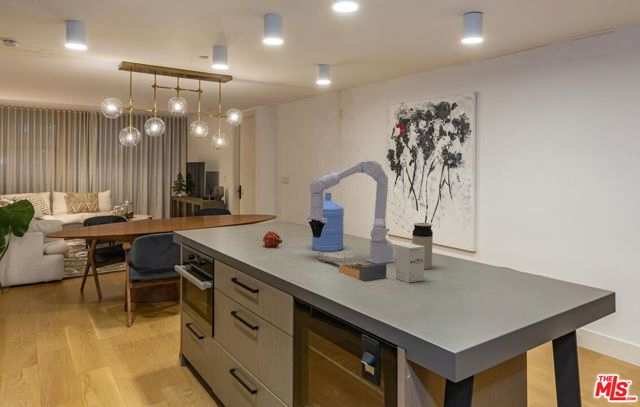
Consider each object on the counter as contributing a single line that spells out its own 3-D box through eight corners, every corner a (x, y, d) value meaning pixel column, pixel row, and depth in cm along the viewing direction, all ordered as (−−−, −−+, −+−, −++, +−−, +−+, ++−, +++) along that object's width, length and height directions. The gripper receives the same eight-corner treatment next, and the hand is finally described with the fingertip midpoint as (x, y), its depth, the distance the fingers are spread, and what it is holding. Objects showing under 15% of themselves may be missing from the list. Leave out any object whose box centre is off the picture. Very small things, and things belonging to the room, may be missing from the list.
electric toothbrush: (325, 251, 192) (359, 252, 171) (326, 266, 192) (360, 269, 170) (315, 252, 189) (348, 254, 168) (316, 267, 189) (349, 271, 168)
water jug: (348, 248, 220) (349, 192, 217) (333, 253, 206) (333, 194, 204) (322, 245, 228) (323, 191, 226) (305, 249, 215) (306, 193, 213)
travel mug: (435, 267, 178) (436, 223, 177) (425, 270, 172) (426, 225, 171) (418, 264, 184) (419, 222, 182) (407, 267, 178) (409, 223, 176)
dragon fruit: (267, 247, 228) (278, 254, 218) (256, 239, 223) (267, 246, 213) (276, 234, 229) (288, 240, 220) (265, 226, 224) (277, 232, 215)
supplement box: (408, 283, 153) (409, 247, 152) (395, 278, 159) (395, 244, 158) (424, 280, 156) (425, 246, 155) (411, 276, 163) (411, 243, 162)
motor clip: (359, 268, 175) (359, 256, 174) (386, 277, 160) (386, 264, 160) (338, 271, 170) (338, 258, 169) (364, 281, 155) (364, 267, 155)
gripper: (301, 205, 197) (301, 235, 198) (317, 208, 184) (317, 240, 186) (315, 205, 201) (314, 234, 202) (331, 207, 188) (331, 239, 189)
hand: (316, 237), depth 194 cm, fingers closed
